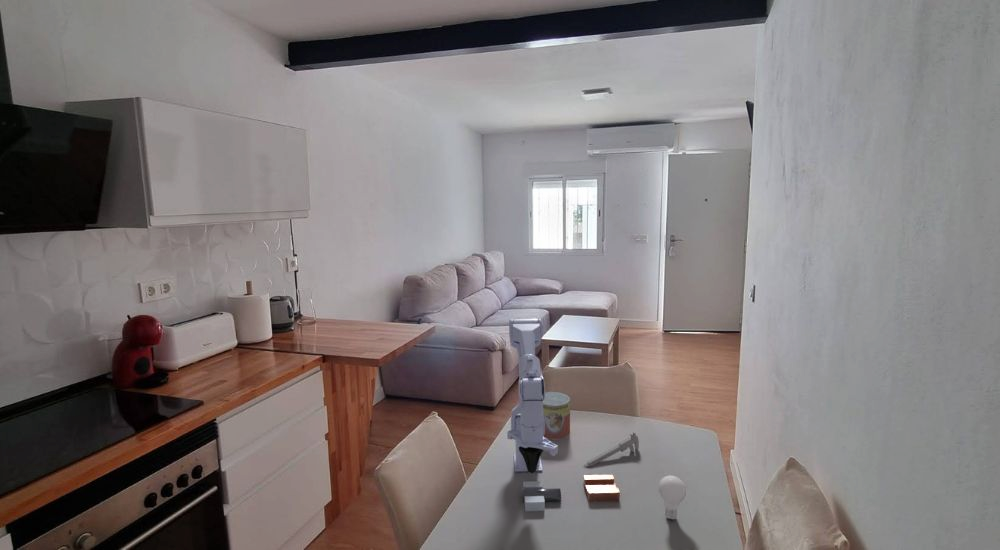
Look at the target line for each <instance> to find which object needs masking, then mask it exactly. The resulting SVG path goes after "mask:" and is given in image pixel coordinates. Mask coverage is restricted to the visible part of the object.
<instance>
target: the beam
mask: <svg viewBox="0 0 1000 550" xmlns="http://www.w3.org/2000/svg"><path fill="white" fill-rule="evenodd" d="M522 483H523V484H522V485H523V486H522V487H523V488H522V489H543V482H542V481H541V480H539V481H538V480H537V481H534V480H533V481H523V482H522ZM545 507H546V501H545V500H544V496H525V501H524V511H525V512H545V511H546V508H545Z"/></svg>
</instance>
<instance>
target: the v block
mask: <svg viewBox="0 0 1000 550" xmlns="http://www.w3.org/2000/svg"><path fill="white" fill-rule="evenodd" d="M583 485H584V489H585V492H586V496H587V499H588V502H591V503H593V502H620V498H621V497H620V495H621V493H620V492H621V491H620V490H619V487H617V485H616V483H615V477H614V475H613V474H591V475H590V474H584V475H583Z"/></svg>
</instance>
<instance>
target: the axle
mask: <svg viewBox="0 0 1000 550" xmlns="http://www.w3.org/2000/svg"><path fill="white" fill-rule="evenodd" d="M521 491H522V492H521V493H522V494H521V495H522V502H525V496H544V500H545V502H561V501H562V491H561V488H542V489H523V488H522V490H521Z"/></svg>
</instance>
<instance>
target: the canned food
mask: <svg viewBox="0 0 1000 550" xmlns="http://www.w3.org/2000/svg"><path fill="white" fill-rule="evenodd" d="M542 399H543V396H542ZM543 413H544V421H545V434H544V435H543V437H544V438H546V439H547V440H549V441H550V440H551V441H552V440H553V441H556V440H557V441H559V440H564V439H566V438H568V437H569V436H570V435H571V396H569V395H568V394H567V393H563V392H559V391H545V399H544V400H543Z"/></svg>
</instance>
